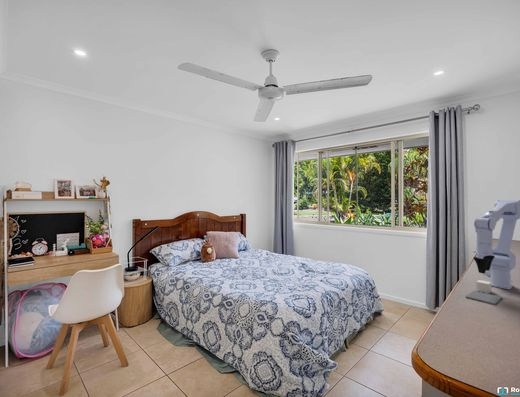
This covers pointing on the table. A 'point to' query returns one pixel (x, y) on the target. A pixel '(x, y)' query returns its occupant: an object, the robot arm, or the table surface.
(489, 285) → the cream cube
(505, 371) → the table surface
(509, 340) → the table surface
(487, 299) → the gray mat
